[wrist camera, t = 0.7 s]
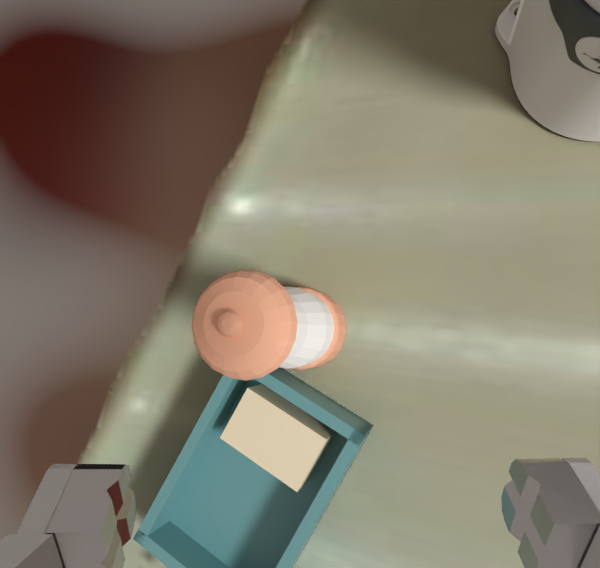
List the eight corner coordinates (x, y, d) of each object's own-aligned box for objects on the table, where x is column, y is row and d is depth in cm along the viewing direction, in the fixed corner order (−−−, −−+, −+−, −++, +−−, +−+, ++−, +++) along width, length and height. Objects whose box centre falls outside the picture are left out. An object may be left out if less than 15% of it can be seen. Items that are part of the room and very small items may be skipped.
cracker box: (262, 383, 49) (247, 387, 45) (336, 431, 47) (326, 439, 43) (237, 430, 49) (219, 437, 45) (309, 479, 47) (296, 492, 43)
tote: (255, 351, 51) (235, 352, 46) (373, 425, 47) (365, 435, 42) (162, 519, 51) (133, 538, 47) (271, 605, 48) (251, 635, 43)
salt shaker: (272, 368, 50) (172, 387, 32) (270, 292, 51) (171, 267, 32) (348, 366, 48) (288, 384, 30) (344, 287, 49) (283, 257, 31)
